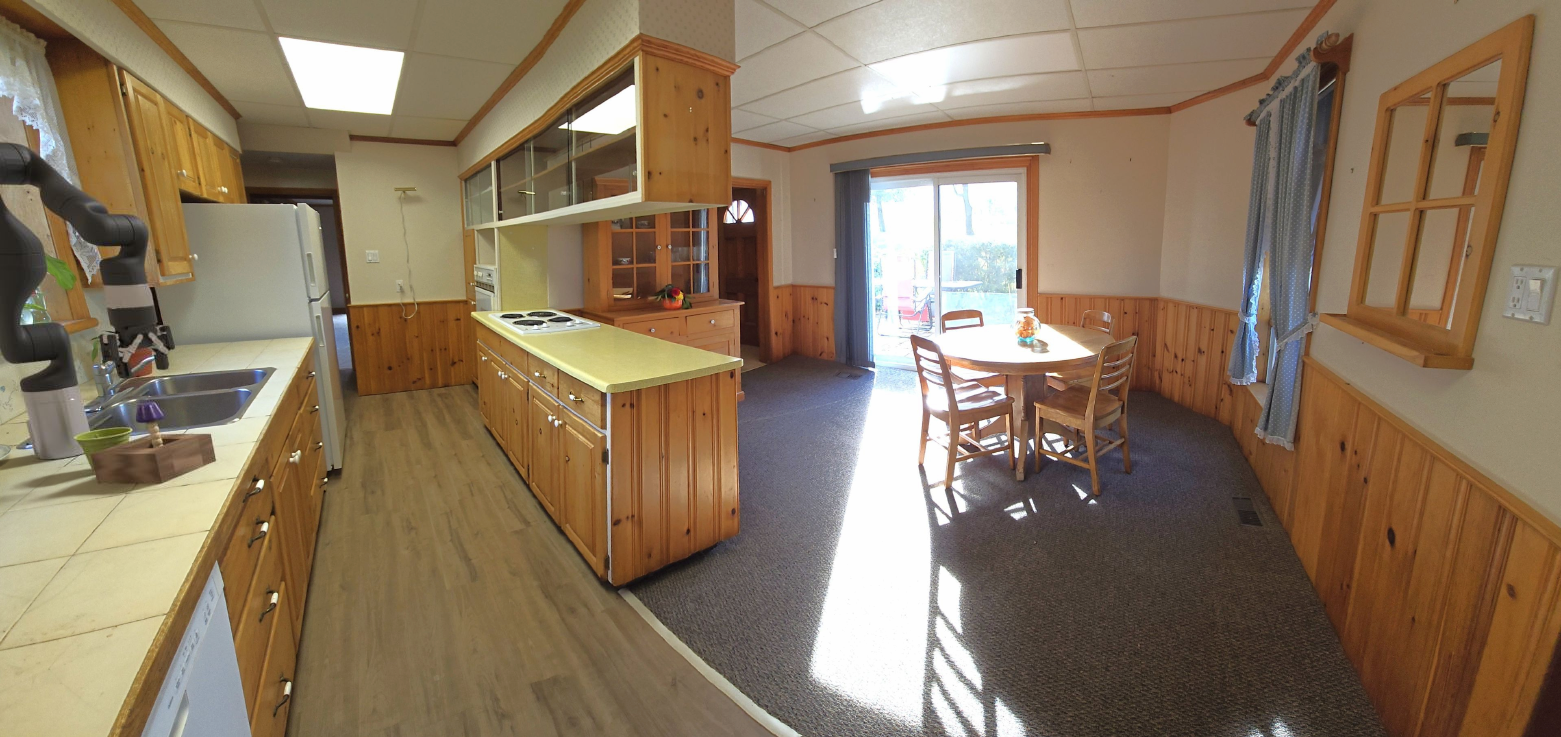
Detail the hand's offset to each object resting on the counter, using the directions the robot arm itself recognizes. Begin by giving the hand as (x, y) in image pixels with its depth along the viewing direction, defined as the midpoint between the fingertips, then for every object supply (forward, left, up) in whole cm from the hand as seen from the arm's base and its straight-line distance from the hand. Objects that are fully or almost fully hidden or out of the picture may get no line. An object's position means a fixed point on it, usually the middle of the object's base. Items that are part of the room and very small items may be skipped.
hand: (145, 373), depth 143 cm
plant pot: (-12, -1, -23) cm, 26 cm away
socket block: (+2, -3, -23) cm, 23 cm away
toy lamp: (+2, -3, -23) cm, 23 cm away
